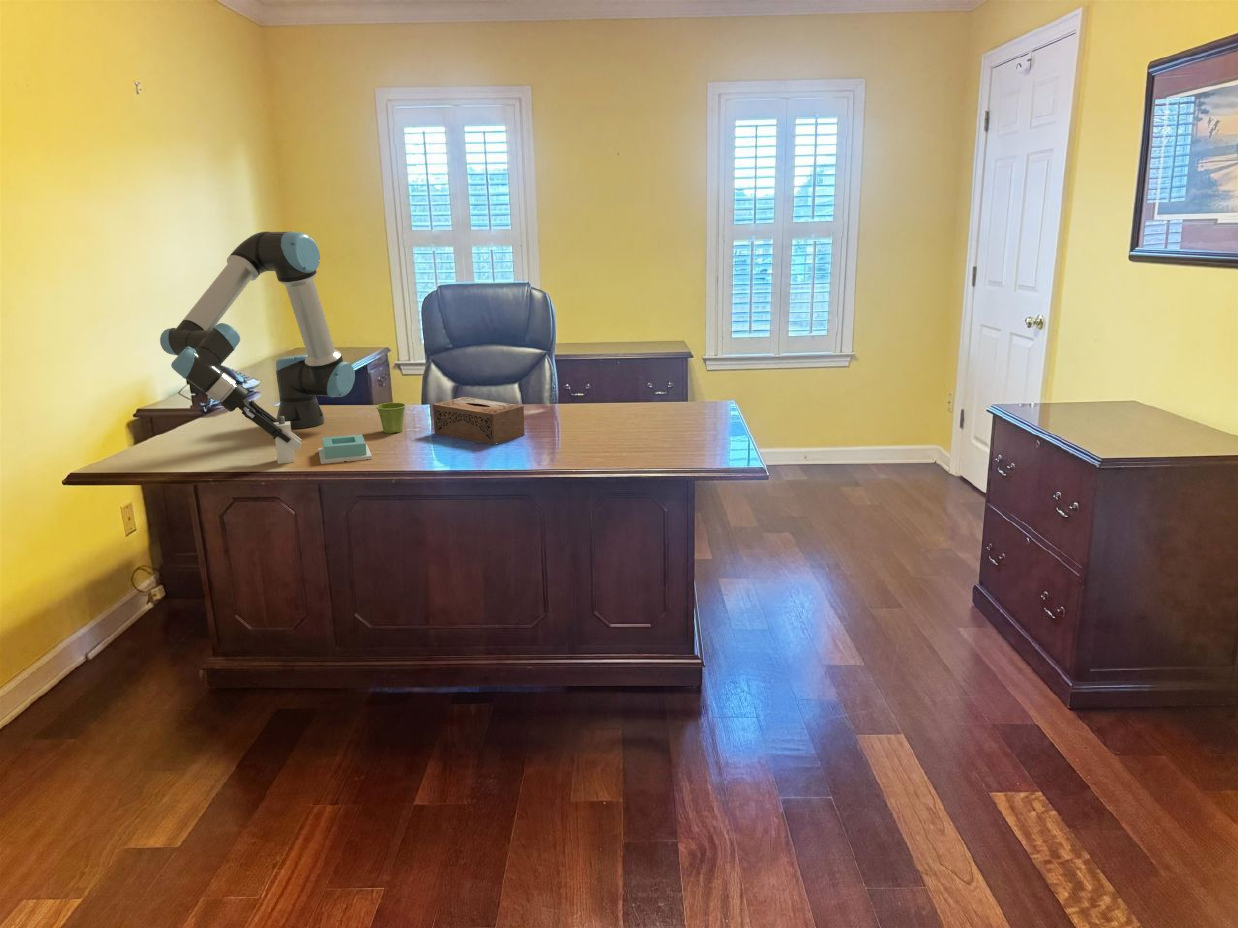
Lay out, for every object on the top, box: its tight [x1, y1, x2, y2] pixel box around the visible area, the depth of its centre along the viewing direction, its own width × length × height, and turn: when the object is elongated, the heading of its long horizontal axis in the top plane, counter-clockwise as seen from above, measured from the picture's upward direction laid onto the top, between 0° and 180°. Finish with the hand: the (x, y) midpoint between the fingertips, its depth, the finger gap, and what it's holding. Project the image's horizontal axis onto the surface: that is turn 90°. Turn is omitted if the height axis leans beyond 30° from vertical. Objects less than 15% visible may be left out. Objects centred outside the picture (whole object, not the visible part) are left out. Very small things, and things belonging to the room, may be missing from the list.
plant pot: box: [375, 402, 407, 434], centre depth 270 cm, size 9×9×9 cm
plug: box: [274, 416, 295, 465], centre depth 236 cm, size 4×4×13 cm
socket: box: [317, 434, 373, 465], centre depth 243 cm, size 14×14×4 cm
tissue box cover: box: [432, 396, 525, 445], centre depth 267 cm, size 26×14×10 cm, turn 57°
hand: (298, 445), depth 238 cm, fingers open, 4 cm apart
